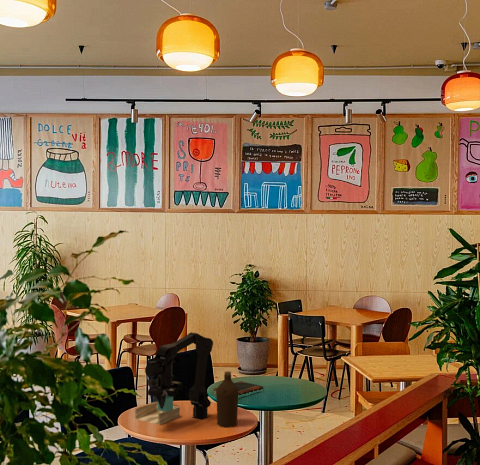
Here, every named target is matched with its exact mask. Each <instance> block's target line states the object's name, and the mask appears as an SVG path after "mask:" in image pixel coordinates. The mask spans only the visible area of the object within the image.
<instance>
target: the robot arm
mask: <svg viewBox="0 0 480 465" xmlns="http://www.w3.org/2000/svg"><path fill="white" fill-rule="evenodd" d="M192 344H194V345H195V352H196V353H197V360H196V368H195V377H194V383H193V386H192V387H189V390H188V395H187V396H188V400H189V401H190V405H191V406H193V408H192V419H195V420H205V419H208V418H210V416H208V409H209V407H211V403H212V401H211V400H210V399H209V398H208V393H207V389H206V387H205V383H206V376H207V375H206V374H207V367H208V358H209V357H208V356H210V354H211V352H212V351H213V347H214V341H213V340H212V338H210V337H205V336H203V335H201V334H199V333H196V332H193V331H192V332H191V331H190V332H189V333H188V334H186V335H185V336H182V337H181V338H180V339H178V340H176V341H174V342H172V343H169V344H168V343H167V344H163V345H160V346H159V348H158V350H157V352H156V354H155V356H154V357H153V360H152V361H148V363H147V365H146V366H145V367H144V373H145V376H146V377H148V378H149V379H147V385H148V387H150V388H149V389H148V390H147V396H151V397H153V396H155V397H156V398H157V400H158V402H159V405H160V408H161V409H163V407H164V402H165V398H166V395H164V391H166V392H167V395H168V396H173V400H174V399H175V398H176V395H177V393H178V392H179V390H182V389H184V383H182V382H180V381H175V380H173V379H175V376H174V375H173V364H176V363H177V362H176V361H177V360H175V359H174V358H175V357H176V356H178V353H179V352H180V351H182V350H184V349H185V348H187V347H188V346H191V345H192ZM154 377H156V379H154ZM159 387H160V388H159Z"/></svg>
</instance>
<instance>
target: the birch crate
mask: <svg viewBox="0 0 480 465" xmlns="http://www.w3.org/2000/svg"><path fill="white" fill-rule="evenodd" d="M180 409H181V408H180V406H177V405H173V410H170V411H168V412H163V411H159V410H158V402H153V401H152V402H150V403H148V404H144V405H141V406H138V407H136V408H135V409H134V419H135V420H138V421H141V422H147V423H151V424H153V425H154V424H155V425H158V426H160V425H163V424H165V423H168V422H170V421H174V420H176V419H179V418H180V416H181V414H180Z"/></svg>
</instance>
